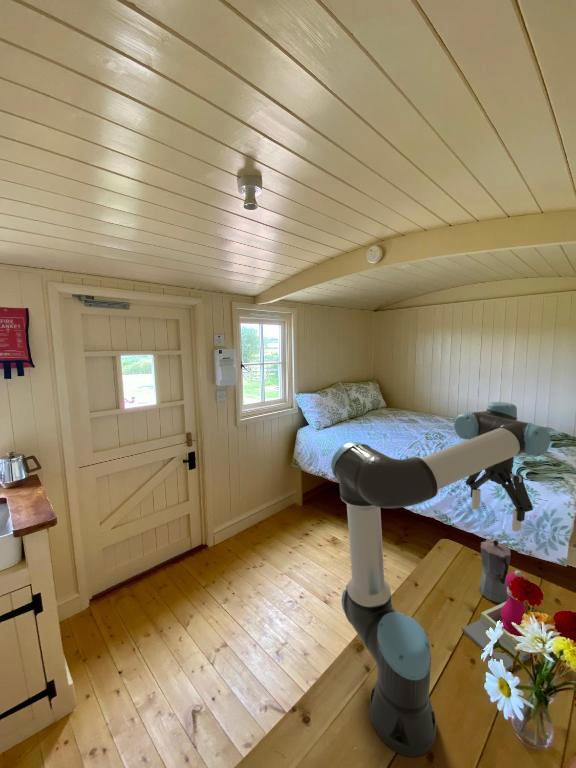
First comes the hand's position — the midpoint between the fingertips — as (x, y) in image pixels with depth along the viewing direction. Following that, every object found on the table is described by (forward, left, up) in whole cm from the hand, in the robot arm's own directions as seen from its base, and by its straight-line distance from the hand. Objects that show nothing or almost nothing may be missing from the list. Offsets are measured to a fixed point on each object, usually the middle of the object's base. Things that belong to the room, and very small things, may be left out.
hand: (494, 518), depth 102 cm
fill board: (-1, -7, -35) cm, 36 cm away
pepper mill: (+3, -7, -34) cm, 35 cm away
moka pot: (+12, +6, -35) cm, 38 cm away
